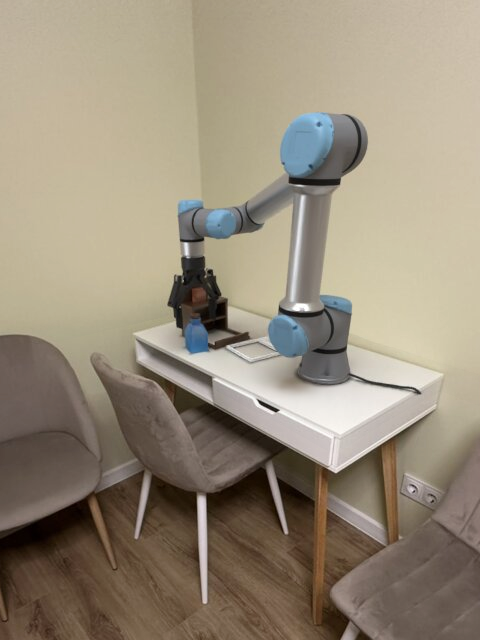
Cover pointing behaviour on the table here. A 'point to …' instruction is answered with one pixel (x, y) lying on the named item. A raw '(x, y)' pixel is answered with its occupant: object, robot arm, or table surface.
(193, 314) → the perfume bottle
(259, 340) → the photo frame
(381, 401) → the table surface
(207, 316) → the desk rack
